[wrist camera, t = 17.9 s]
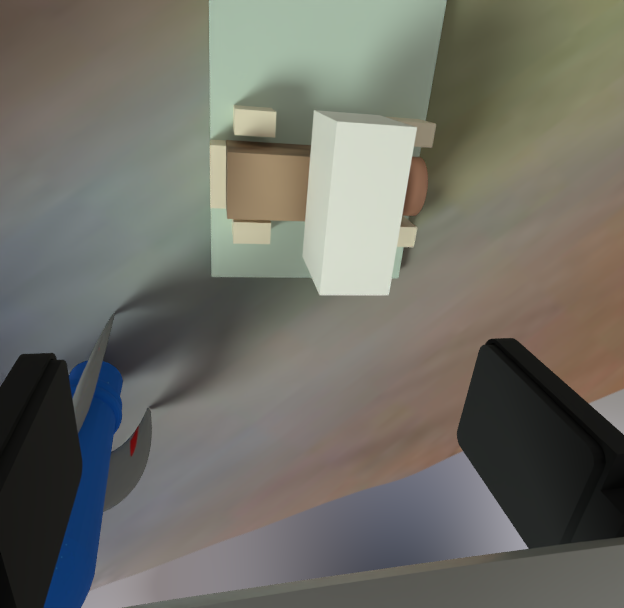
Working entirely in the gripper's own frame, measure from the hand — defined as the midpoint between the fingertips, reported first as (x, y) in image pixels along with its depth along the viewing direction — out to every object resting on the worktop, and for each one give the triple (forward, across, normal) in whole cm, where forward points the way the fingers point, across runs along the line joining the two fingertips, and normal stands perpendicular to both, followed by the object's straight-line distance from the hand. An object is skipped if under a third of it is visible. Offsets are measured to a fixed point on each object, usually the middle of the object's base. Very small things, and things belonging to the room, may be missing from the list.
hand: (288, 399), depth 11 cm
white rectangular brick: (+20, -6, 0) cm, 22 cm away
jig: (+27, -6, -4) cm, 28 cm away
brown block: (+26, -6, 0) cm, 26 cm away
